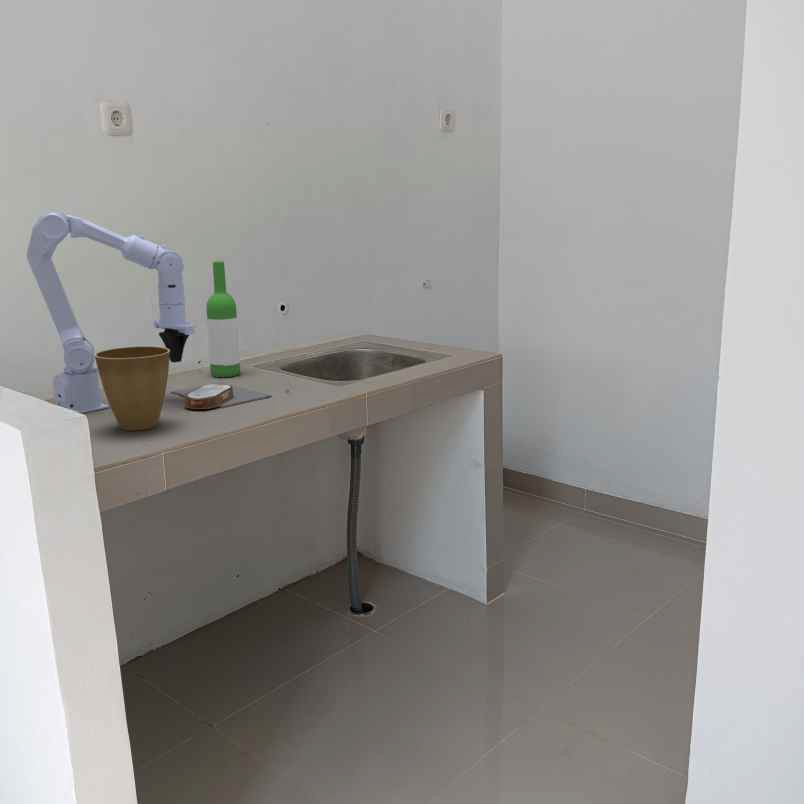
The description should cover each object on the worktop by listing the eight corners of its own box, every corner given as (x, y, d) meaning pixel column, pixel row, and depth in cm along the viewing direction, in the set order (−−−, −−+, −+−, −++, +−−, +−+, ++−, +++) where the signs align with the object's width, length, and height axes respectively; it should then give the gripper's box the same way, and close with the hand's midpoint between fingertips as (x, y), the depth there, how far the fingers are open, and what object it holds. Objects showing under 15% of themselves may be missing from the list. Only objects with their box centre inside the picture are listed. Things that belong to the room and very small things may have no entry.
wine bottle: (217, 371, 234) (209, 260, 227) (244, 372, 233) (238, 260, 225) (206, 378, 226) (198, 262, 219) (234, 378, 225) (227, 262, 218)
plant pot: (184, 429, 179) (178, 353, 175) (110, 440, 172) (103, 361, 168) (164, 413, 191) (159, 342, 188) (95, 423, 184) (87, 349, 180)
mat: (222, 407, 196) (221, 406, 195) (171, 392, 211) (170, 391, 211) (271, 396, 205) (271, 395, 205) (219, 383, 220) (219, 381, 220)
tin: (178, 408, 194) (213, 412, 192) (177, 394, 193) (213, 398, 191) (206, 393, 208) (239, 396, 207) (206, 380, 207) (239, 384, 206)
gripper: (204, 304, 196) (207, 363, 199) (171, 299, 206) (174, 355, 209) (176, 307, 191) (180, 367, 194) (144, 302, 201) (148, 359, 204)
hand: (176, 361), depth 201 cm, fingers closed
